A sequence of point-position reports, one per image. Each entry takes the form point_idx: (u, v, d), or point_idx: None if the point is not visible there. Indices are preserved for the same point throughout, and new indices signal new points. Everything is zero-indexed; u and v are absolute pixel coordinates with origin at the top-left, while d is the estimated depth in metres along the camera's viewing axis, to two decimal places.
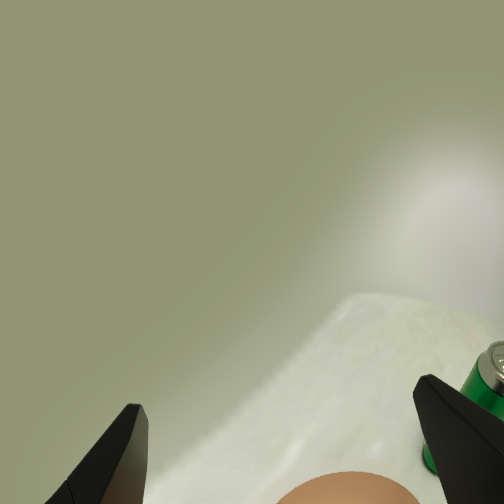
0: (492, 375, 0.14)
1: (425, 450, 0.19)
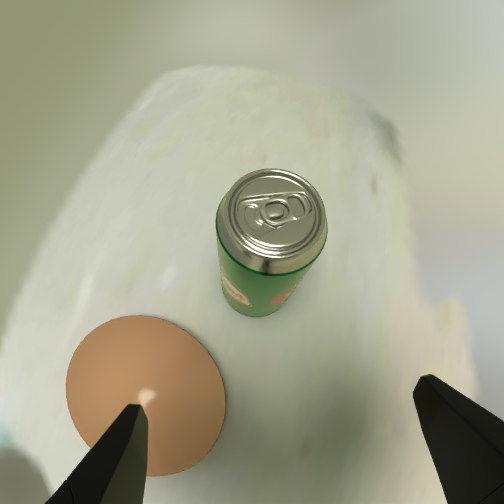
0: (230, 236, 0.13)
1: None
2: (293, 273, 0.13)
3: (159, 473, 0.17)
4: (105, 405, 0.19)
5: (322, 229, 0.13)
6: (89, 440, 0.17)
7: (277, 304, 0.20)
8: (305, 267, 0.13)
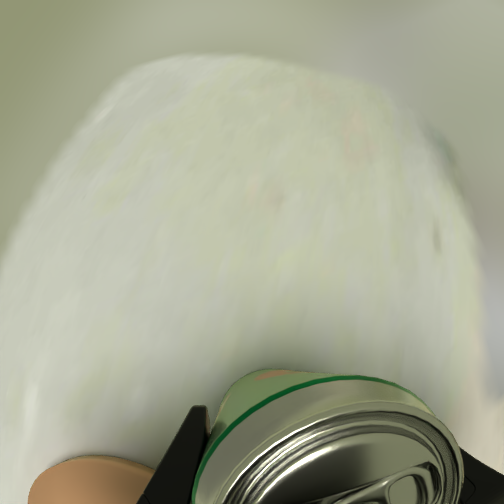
0: None
1: None
2: None
3: None
4: None
5: None
6: None
7: None
8: None
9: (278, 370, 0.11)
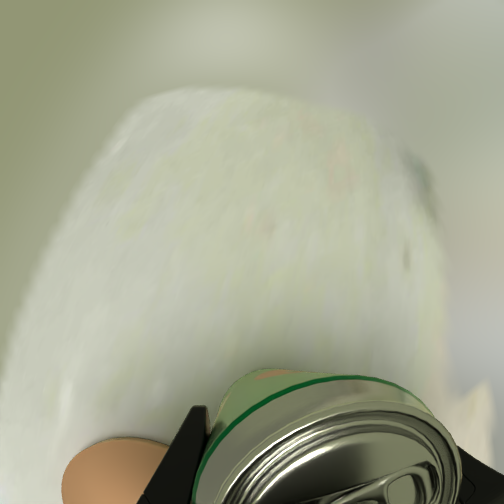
0: None
1: None
2: None
3: None
4: None
5: None
6: None
7: None
8: None
9: None
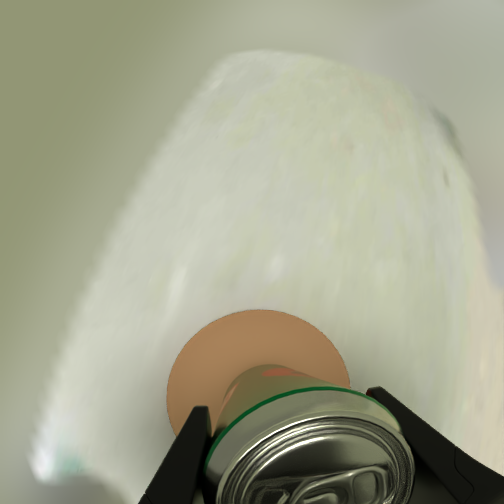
0: None
1: None
2: None
3: None
4: None
5: None
6: None
7: None
8: None
9: (283, 368, 0.13)
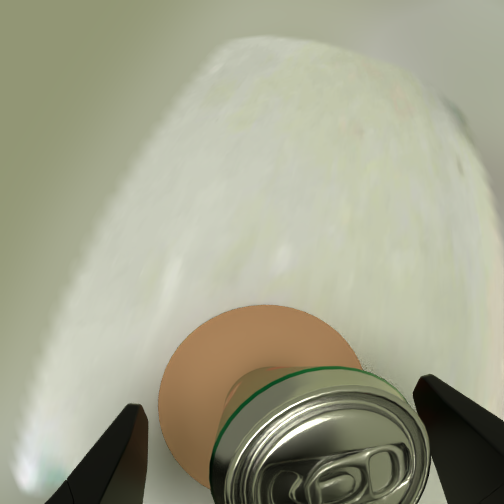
0: None
1: None
2: None
3: None
4: None
5: None
6: (195, 471, 0.14)
7: None
8: None
9: None
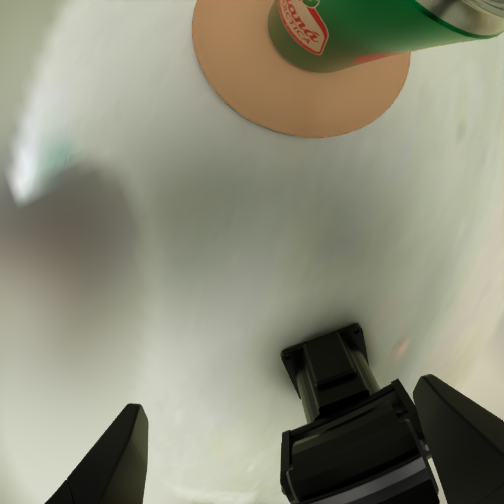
0: None
1: (269, 13, 0.12)
2: (466, 36, 0.04)
3: (331, 132, 0.15)
4: (260, 38, 0.13)
5: None
6: (228, 92, 0.14)
7: (356, 64, 0.10)
8: (483, 38, 0.04)
9: None
